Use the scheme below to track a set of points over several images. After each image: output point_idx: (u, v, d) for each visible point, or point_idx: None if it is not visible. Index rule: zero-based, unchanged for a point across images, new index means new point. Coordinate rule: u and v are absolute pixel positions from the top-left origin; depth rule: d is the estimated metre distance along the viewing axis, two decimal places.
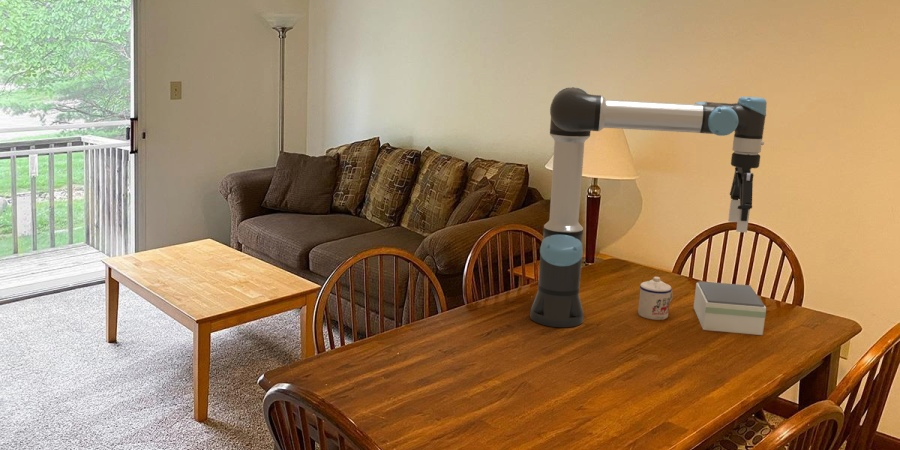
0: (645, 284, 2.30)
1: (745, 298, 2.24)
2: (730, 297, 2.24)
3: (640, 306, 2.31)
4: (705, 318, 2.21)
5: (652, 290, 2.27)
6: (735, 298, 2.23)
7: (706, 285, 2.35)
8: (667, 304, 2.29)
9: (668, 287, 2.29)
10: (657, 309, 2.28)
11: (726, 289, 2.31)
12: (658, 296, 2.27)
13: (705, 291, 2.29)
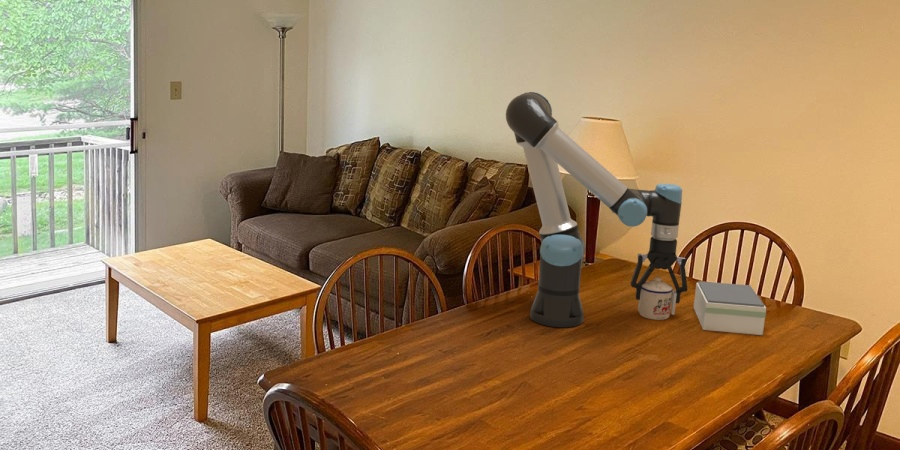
0: (646, 284, 2.30)
1: (745, 298, 2.24)
2: (730, 297, 2.24)
3: (641, 306, 2.31)
4: (705, 318, 2.21)
5: (653, 290, 2.27)
6: (735, 298, 2.23)
7: (706, 285, 2.35)
8: (668, 304, 2.29)
9: (669, 287, 2.29)
10: (659, 309, 2.28)
11: (726, 289, 2.31)
12: (659, 296, 2.27)
13: (705, 291, 2.29)
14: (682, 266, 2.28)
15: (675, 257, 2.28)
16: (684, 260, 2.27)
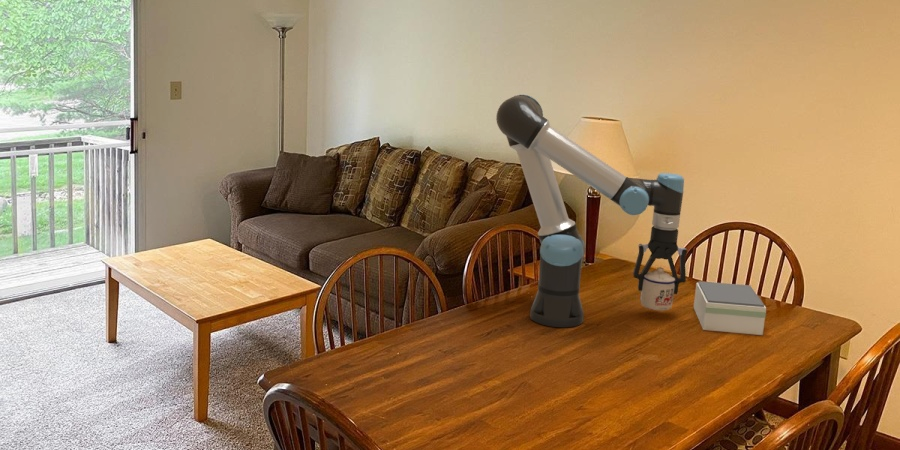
0: (649, 274, 2.29)
1: (745, 298, 2.24)
2: (730, 297, 2.24)
3: (643, 296, 2.30)
4: (705, 318, 2.21)
5: (656, 280, 2.26)
6: (735, 298, 2.23)
7: (706, 285, 2.35)
8: (671, 294, 2.28)
9: (672, 278, 2.28)
10: (661, 300, 2.27)
11: (726, 289, 2.31)
12: (661, 286, 2.26)
13: (705, 291, 2.29)
14: (682, 257, 2.27)
15: (676, 247, 2.27)
16: (685, 251, 2.27)
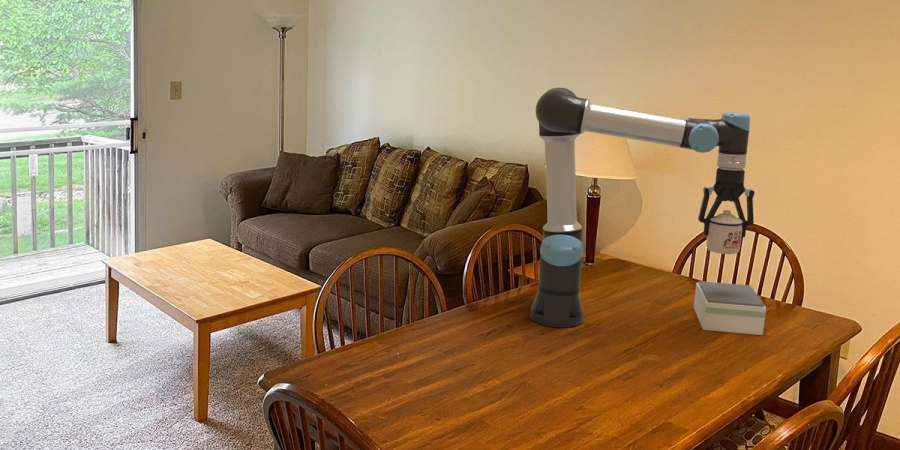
0: (715, 218, 2.23)
1: (745, 298, 2.24)
2: (730, 297, 2.24)
3: (710, 241, 2.24)
4: (705, 318, 2.21)
5: (723, 223, 2.19)
6: (735, 298, 2.23)
7: (706, 285, 2.35)
8: (739, 237, 2.21)
9: (739, 220, 2.21)
10: (729, 243, 2.20)
11: (726, 289, 2.31)
12: (729, 229, 2.20)
13: (705, 291, 2.29)
14: (750, 198, 2.21)
15: (743, 188, 2.21)
16: (752, 192, 2.20)
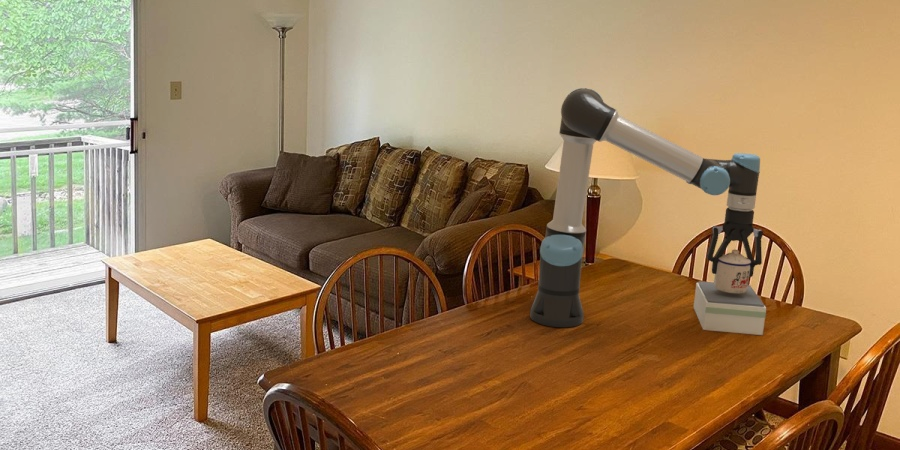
0: (724, 257, 2.25)
1: (745, 298, 2.24)
2: (730, 297, 2.24)
3: (718, 279, 2.26)
4: (705, 318, 2.21)
5: (732, 263, 2.21)
6: (735, 298, 2.23)
7: (706, 285, 2.35)
8: (747, 277, 2.23)
9: (748, 260, 2.23)
10: (737, 283, 2.23)
11: None
12: (738, 269, 2.22)
13: (705, 291, 2.29)
14: (758, 238, 2.23)
15: (752, 228, 2.23)
16: (761, 232, 2.22)
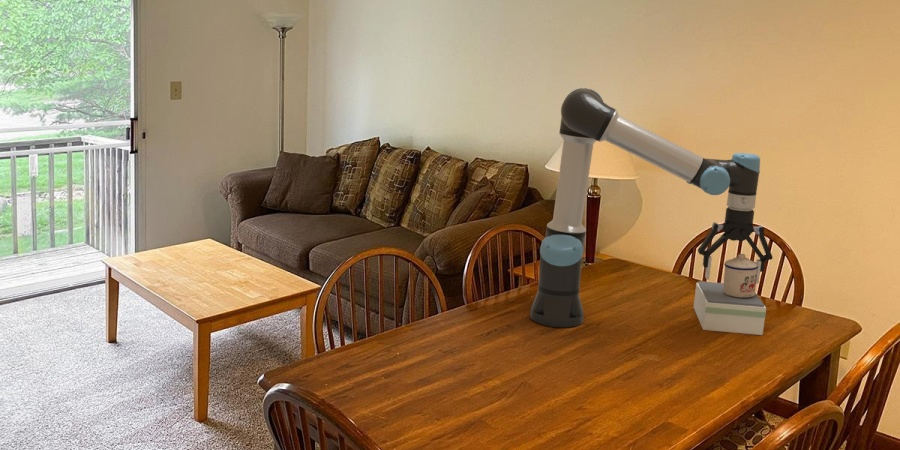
0: (730, 262, 2.25)
1: (745, 298, 2.24)
2: (730, 297, 2.24)
3: (726, 285, 2.26)
4: (705, 318, 2.21)
5: (739, 267, 2.21)
6: (735, 298, 2.23)
7: (706, 285, 2.35)
8: (755, 281, 2.23)
9: (754, 263, 2.23)
10: (745, 287, 2.22)
11: None
12: (745, 273, 2.22)
13: (705, 291, 2.29)
14: (761, 235, 2.22)
15: (752, 228, 2.23)
16: (761, 228, 2.22)
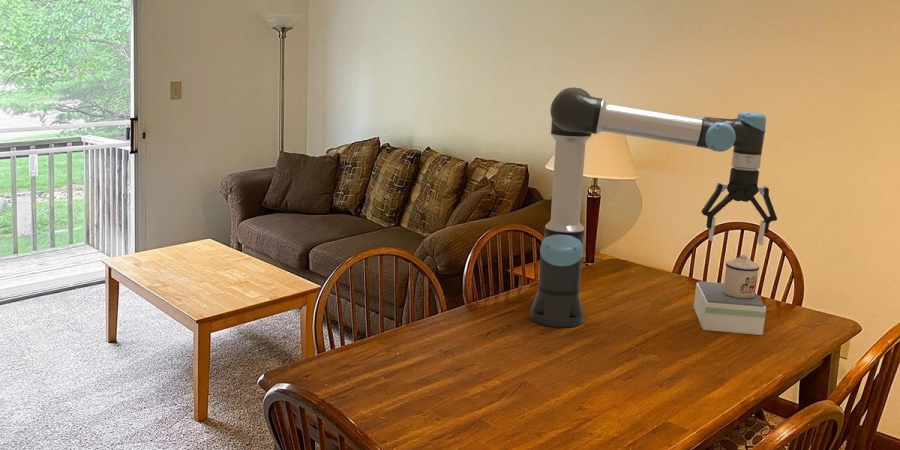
0: (732, 262, 2.25)
1: (745, 298, 2.24)
2: (730, 297, 2.24)
3: (727, 285, 2.25)
4: (705, 318, 2.21)
5: (741, 268, 2.21)
6: (735, 298, 2.23)
7: (706, 285, 2.35)
8: (755, 282, 2.23)
9: (756, 265, 2.23)
10: (746, 288, 2.22)
11: None
12: (746, 274, 2.22)
13: (705, 291, 2.29)
14: (766, 195, 2.20)
15: (756, 188, 2.20)
16: (766, 189, 2.20)
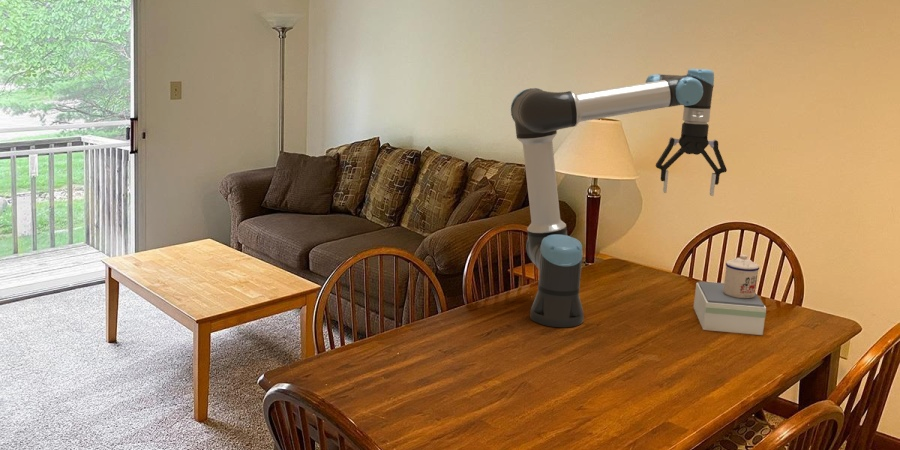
0: (732, 262, 2.25)
1: (745, 298, 2.24)
2: (730, 297, 2.24)
3: (727, 285, 2.26)
4: (705, 318, 2.21)
5: (741, 268, 2.21)
6: (735, 298, 2.23)
7: (706, 285, 2.35)
8: (755, 282, 2.23)
9: (756, 265, 2.23)
10: (746, 288, 2.22)
11: None
12: (746, 274, 2.22)
13: (705, 291, 2.29)
14: (715, 148, 2.31)
15: (706, 141, 2.31)
16: (716, 141, 2.31)
